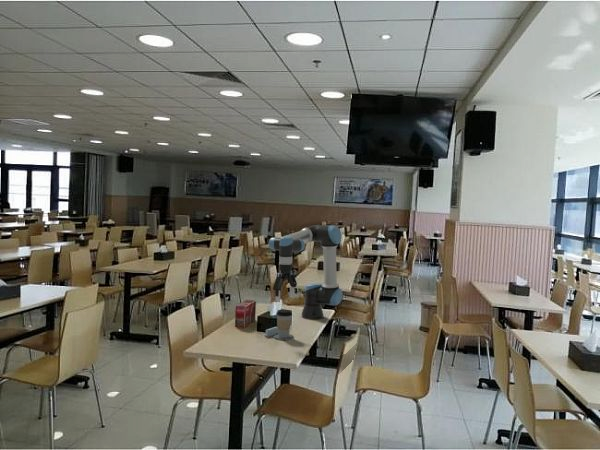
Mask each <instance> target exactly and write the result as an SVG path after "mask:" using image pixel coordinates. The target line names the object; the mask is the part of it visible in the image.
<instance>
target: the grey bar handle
mask: <svg viewBox="0 0 600 450" xmlns="http://www.w3.org/2000/svg"><path fill="white" fill-rule="evenodd" d="M275 334H278V327H277V326H274V327H271V328H267V329H265V334H264V335H263V337H265V338H271V336H272V337H273V335H275Z"/></svg>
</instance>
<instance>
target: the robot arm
mask: <svg viewBox="0 0 600 450" xmlns="http://www.w3.org/2000/svg"><path fill="white" fill-rule="evenodd" d="M342 235H343V234H342V231H341V229H340V227H338V226H336V225H329V224H316V225H314V224H313V225H310V226H306V227H304V228H302V229H301V230H299V231H296V232H293V233H289V234H287V235H283V236H280V237H276V236H275V237H271V238H270V239H269V241H268V247H269V249H271V250H274V251H279V255H278V256H279V260H278V261H279V264H278V269H279V271H280V272H277V273H276V277H275V280H274V283H273V287H272V290H273V291H275V292H274V293H275V295H274V296H275V302H277V303H281V287H282V286H283V284H284V282H285V281H286V280H287V281H288V283H289V285H290V286H289V298H290V299H295V289H296V288H297V285H298V282H297V280H296V279H297V278H296V276H295V270H293V254H294V253H300V252H303V250H304V249H305V248H306V243H310V242H312V243H313V242H314V243H320V247H321V248H322V255H323V257H322V258H323V261H322V262H323V283H321V282H320V283H319V282H315V283H307V284H305V287H304V304H303V305H304V306H303V309H302V311H301V318H304V319H306V320H320V319H321V320H322V319H323V318H324V311H323V307H322V305H323V304H324V305H329V306H337V305H339V304H340V303H341V301H342V300H343V299H342V298H343V289H341V288H340V285H339V283H337V279H338V276H337V247H338V246H339V244H340V243H341V242H342Z"/></svg>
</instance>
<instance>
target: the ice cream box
mask: <svg viewBox="0 0 600 450" xmlns="http://www.w3.org/2000/svg"><path fill="white" fill-rule="evenodd" d="M256 305H257V301H256V300H252V299H246V300H244V301H242V302H240V303H239V304H237V305H235V315H234V316H235V317H234V328H242V329H243V328H244V329H245V328H247V327H249V325H251V324H252V323H253V322H255V321H256V310H257V309H256V308H257V306H256Z"/></svg>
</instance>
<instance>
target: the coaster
mask: <svg viewBox="0 0 600 450" xmlns="http://www.w3.org/2000/svg"><path fill="white" fill-rule="evenodd" d="M272 338H273V339H274V340H277V341H291V340H293V339H294V335H293V334H290V333H289V337H286V338H281V337H279V336H278V333H277V334H275V335H272Z"/></svg>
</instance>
